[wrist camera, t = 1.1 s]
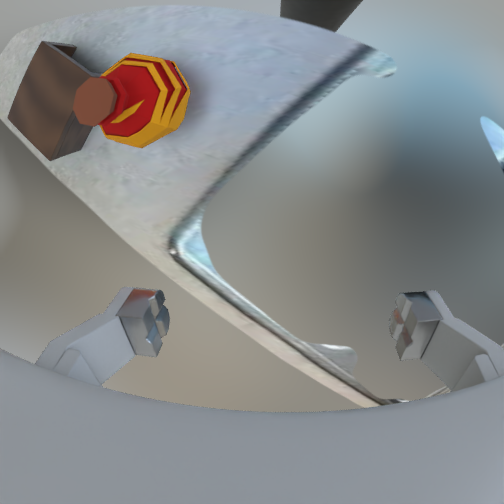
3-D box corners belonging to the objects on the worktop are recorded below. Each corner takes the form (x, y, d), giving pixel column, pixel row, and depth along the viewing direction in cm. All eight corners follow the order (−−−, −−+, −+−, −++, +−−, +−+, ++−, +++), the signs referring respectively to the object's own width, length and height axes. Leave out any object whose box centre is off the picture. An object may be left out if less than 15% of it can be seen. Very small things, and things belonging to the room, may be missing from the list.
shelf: (72, 44, 24) (41, 40, 18) (122, 78, 28) (92, 76, 22) (38, 111, 29) (7, 118, 23) (80, 150, 33) (49, 161, 27)
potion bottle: (132, 145, 32) (57, 174, 19) (124, 72, 27) (45, 65, 14) (208, 133, 31) (161, 153, 18) (202, 53, 26) (150, 20, 13)
